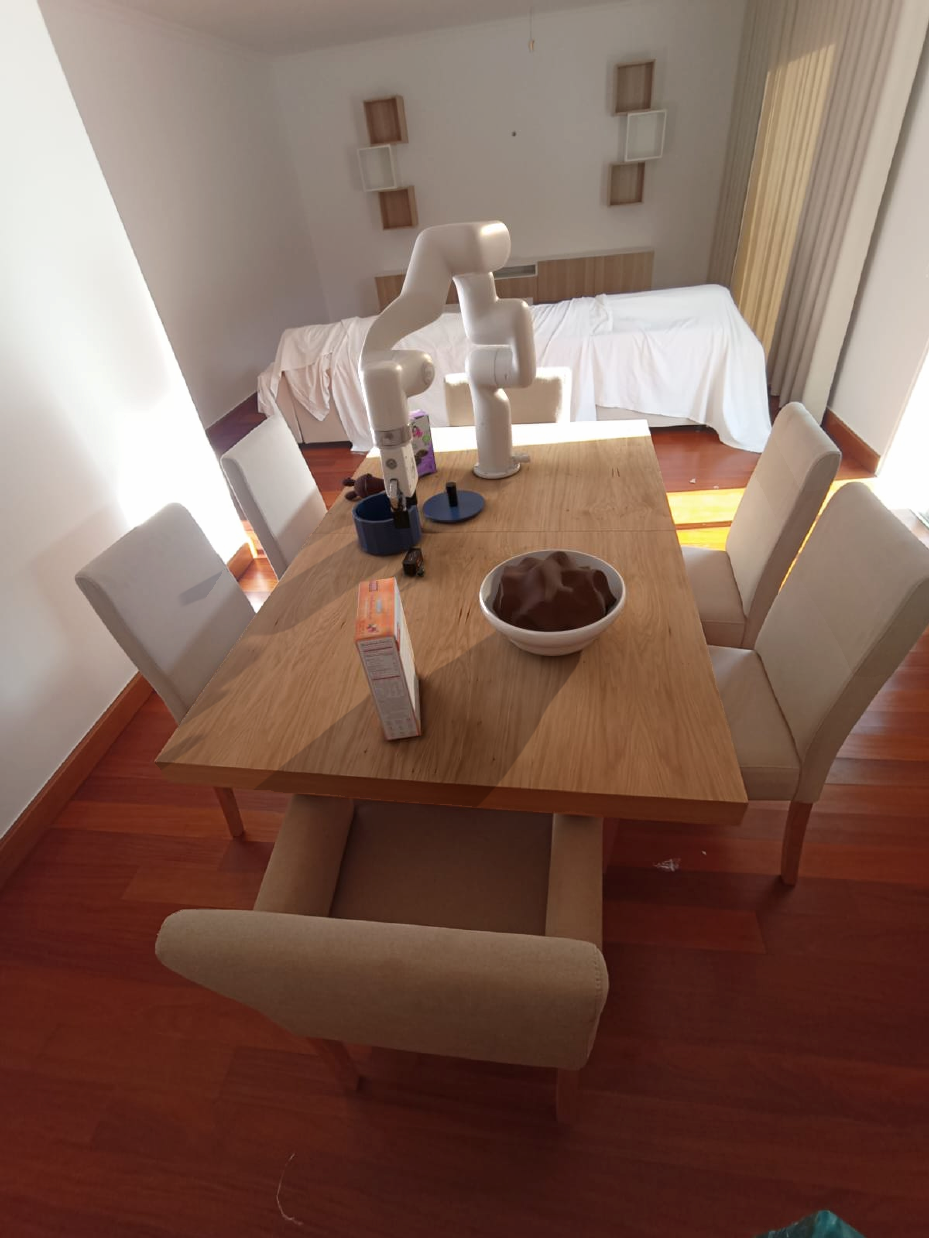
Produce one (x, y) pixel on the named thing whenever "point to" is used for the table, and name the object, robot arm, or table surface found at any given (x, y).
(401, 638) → the cracker box
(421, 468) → the candy box
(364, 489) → the icecream
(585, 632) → the chocolate pudding bowl
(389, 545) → the pot
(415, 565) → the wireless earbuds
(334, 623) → the table surface
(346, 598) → the table surface
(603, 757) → the table surface
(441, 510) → the lid
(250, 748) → the table surface
